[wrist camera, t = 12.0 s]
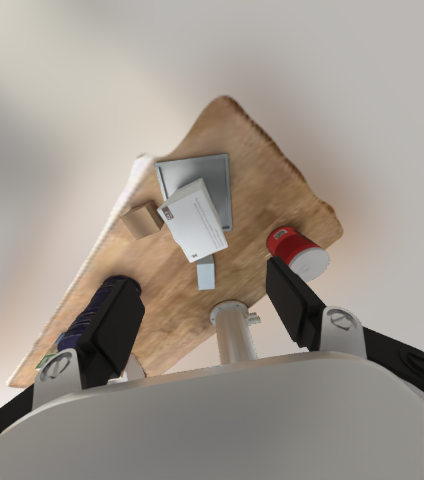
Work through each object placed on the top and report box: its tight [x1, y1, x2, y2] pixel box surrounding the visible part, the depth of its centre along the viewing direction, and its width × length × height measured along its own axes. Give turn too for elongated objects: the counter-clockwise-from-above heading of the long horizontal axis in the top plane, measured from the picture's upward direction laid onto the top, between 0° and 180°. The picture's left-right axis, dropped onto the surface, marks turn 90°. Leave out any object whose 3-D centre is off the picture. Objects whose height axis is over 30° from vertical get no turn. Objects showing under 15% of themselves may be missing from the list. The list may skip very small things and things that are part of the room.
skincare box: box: [157, 178, 228, 263], centre depth 24 cm, size 8×6×15 cm
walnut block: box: [120, 200, 164, 240], centre depth 30 cm, size 5×5×5 cm
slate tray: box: [154, 153, 232, 232], centre depth 31 cm, size 13×15×2 cm
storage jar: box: [57, 276, 141, 352], centre depth 34 cm, size 10×10×15 cm
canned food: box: [267, 227, 330, 282], centre depth 33 cm, size 8×8×11 cm
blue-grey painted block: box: [197, 254, 214, 290], centre depth 38 cm, size 8×4×4 cm, turn 1°
